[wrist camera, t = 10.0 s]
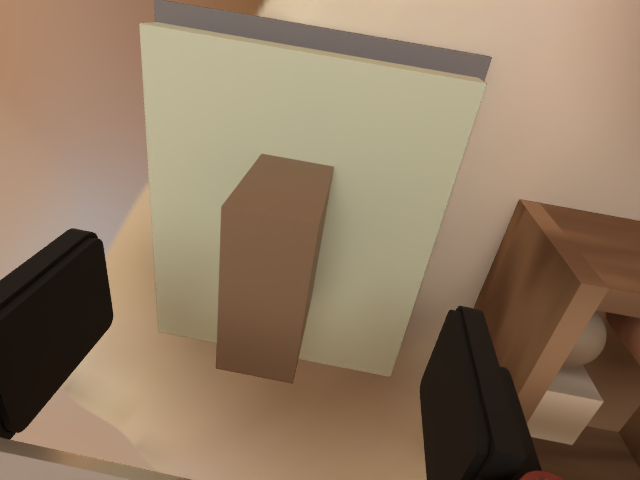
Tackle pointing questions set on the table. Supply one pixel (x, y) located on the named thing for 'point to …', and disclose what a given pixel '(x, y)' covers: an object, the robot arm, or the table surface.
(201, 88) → the lid
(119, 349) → the table surface
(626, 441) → the box
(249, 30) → the mat
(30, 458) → the robot arm
